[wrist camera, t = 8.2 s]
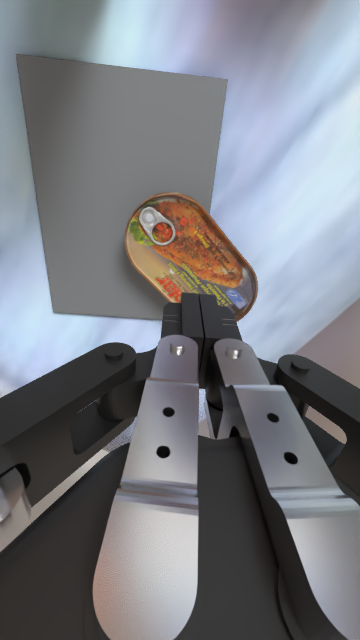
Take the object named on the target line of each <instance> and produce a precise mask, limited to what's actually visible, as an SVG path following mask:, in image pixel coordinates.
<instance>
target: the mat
mask: <svg viewBox="0 0 360 640" xmlns="http://www.w3.org/2000/svg"><path fill="white" fill-rule="evenodd" d="M16 59H17V66H18V73H19V79H20V86H21V93H22V100H23V107H24V114H25V121H26V128H27V134H28V141H29V148H30V155H31V162H32V169H33V176H34V183H35V189H36V196H37V203H38V210H39V217H40V224H41V231H42V238H43V244H44V251H45V258H46V265H47V272H48V279H49V286H50V293H51V299H52V306H53V312H61V313H76V314H90V315H104V316H118V317H133V318H147V319H161V320H163V309H164V307H165V306H166V305H167V304H168V303H169V301H168V300H167V299H166V298H165V297H164V296H163V295H162V294H161V293H159V292H158V291H157V290H156V289H155V288H154V287H153V286H152V285H151V284H150V283H149V282H148V281H147V280H146V279H145V278H144V277H143V276H142V275H141V274H140V273H139V272H138V271H137V270H136V269H135V268H134V267H133V265H132V264H131V262H130V260H129V258H128V256H127V253H126V249H125V242H124V236H125V229H126V225H127V222H128V220H129V218H130V216H131V215H132V213H133V212H134V210H135V209H136V208H137V207H138V206H139V205H140V204H141V203H142V202H144V201H145V200H146V199H148V198H150V197H151V196H153V195H156V194H159V193H163V192H178V193H182V194H185V195H187V196H190V197H191V198H193V199H195V200H196V201H197V202H198V203H199V204H200V205H201V206H203V208H204V209H205V210H206V211H207V212H208V213H209V214H210V207H211V199H212V192H213V184H214V177H215V170H216V162H217V155H218V147H219V140H220V133H221V125H222V118H223V111H224V103H225V96H226V88H227V81H228V79H221V78H212V77H204V76H196V75H187V74H179V73H171V72H162V71H154V70H146V69H137V68H129V67H121V66H112V65H104V64H96V63H87V62H79V61H71V60H62V59H54V58H46V57H37V56H29V55H21V54H16Z"/></svg>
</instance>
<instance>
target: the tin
mask: <svg viewBox="0 0 360 640" xmlns="http://www.w3.org/2000/svg"><path fill="white" fill-rule="evenodd" d="M124 242H125V249H126V253H127V256H128V258H129V260H130V262H131V264H132V265H133V267H134V268H135V269H136V270H137V271H138V272H139V273H140V274H141V275H142V276H143V277H144V278H145V279H146V280H147V281H148V282H149V283H150V284H151V285H152V286H153V287H154V288H155V289H156V290H157V291H158V292H159V293H161V294H162V295H163V296H164V297H165V298H166V299H167V300H168V301H169V302H174V303H180V299H181V292H186V293H198V294H199V293H200V294H213V295H216V299H217V303H218V306H227V307H228V308H229V309H230V310H231V311H232V312H233V314H234V317H235V320H236V322H237V321H239V320H240V319H242V318H243V317H244V316H245V315H246V314H247V313H248V312H249V311H250V309H251V308H252V306H253V305H254V303H255V300H256V297H257V293H258V281H257V277H256V274H255V272H254V270H253V268H252V267H251V266H250V265H249V263H248V262H247V261H246V260H245V259H244V257H243V256H242V255H241V254H240V252H239V251H238V250H237V249H236V248H235V246H234V245H233V244H232V243H231V241H230V240H229V239H228V238H227V236H226V235H225V234H224V232H223V231H222V230H221V229H220V227H219V226H218V225H217V224H216V222H215V221H214V220H213V219H212V217H211V216H210V215H209V213H208V212H207V211H206V210H205V209H204V208H203V206H201V205H200V204H199V203H198V202H197V201H196V200H195V199H193V198H191V197H190V196H187V195H185V194H182V193H178V192H163V193H159V194H156V195H153V196H151V197H150V198H148V199H146V200H145V201H144V202H142V203H141V204H140V205H139V206H138V207H137V208H136V209H135V210H134V212H133V213H132V215H131V216H130V218H129V220H128V222H127V225H126V229H125V236H124Z"/></svg>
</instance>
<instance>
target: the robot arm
mask: <svg viewBox="0 0 360 640" xmlns="http://www.w3.org/2000/svg"><path fill="white" fill-rule="evenodd" d="M199 389H205V392H206V395H205V400H204V408H205V414H206V419H207V423H208V428H209V433H210V438H207V437H204V436H200V435H198V414H199ZM95 400H96V401H95ZM94 401H95V402H94ZM92 402H93V403H92ZM91 403H92V404H91ZM89 404H90V405H89ZM88 405H89V406H88ZM86 406H87V407H86ZM309 406H311V407H312V408H314V409H315V410H317V411H318V412H319V413H321V414H322V415H324V416H325V417H326V418H328V419H329V420H331V421H332V422H334V423H335V424H336V425H338V426H339V427H340V428H341V429H343V431H344V432H345V434H346V437H347V442H346V444H343V443H341V442H339V441H338V440H337V439H335V438H334V437H333V436H331V435H330V434H328V433H327V432H326V431H325V430H323V429H322V428H320V427H319V426H318V425H316V424H315V423H314V422H312V421H311V420H309V419H308V418H307V417H305V414H306V412H307V410H308V407H309ZM85 407H86V408H85ZM82 409H83V410H82ZM79 411H80V412H79ZM136 416H137V419H136V423H135V427H134V431H133V435H132V439H131V442H130V443H127V444H125V445H122V446H120V447H118V448H117V449H115V450H113V451H111V452H110V453H109V454H107V455H106V456H104V457H103V458H102V459H101V460H100V461H99V462H98V463H96V464H95V465H94V466H93V467H92V468H91V469H90V470H89V471H88V472H87V473H86V474H85V475H84V476H82V477H81V478H80V479H79V480H78V481H77V482H76V483H75V484H74V485H73V486H71V487H70V488H69V489H68V490H67V491H66V492H65V493H64V494H63V495H62V496H61V497H60V498H58V500H56V501H55V502H54V503H53V504H52V505H51V506H50V507H49V508H48V509H46V510H45V511H44V512H43V513H42V514H41V515H40V516H39V517H38V518H37V519H36V520H35V521H33V523H31V524H30V525H29V526H28V527H27V525H28V523H29V520H30V516H31V508H32V507H33V506H34V505H35V504H36V503H38V502H39V501H40V500H41V499H42V498H43V497H45V496H46V495H47V494H48V493H49V492H51V491H52V490H53V489H54V488H56V486H58V485H59V484H60V483H61V482H63V481H64V480H65V479H66V478H67V477H69V476H70V475H71V474H72V473H73V472H75V471H76V470H77V469H78V468H79V467H81V466H82V465H83V464H84V463H85V462H86V461H88V460H89V459H90V458H91V457H93V456H94V455H95V454H96V453H97V452H99V451H100V450H101V449H102V448H103V447H105V446H106V445H107V444H108V443H109V442H111V441H112V440H113V439H114V438H115V437H117V436H118V435H119V434H120V433H121V432H123V431H124V430H125V429H126V428H127V427H129V426H130V425H131V424H132V422H133V421H134V419H135V417H136ZM26 527H27V528H26ZM0 640H360V389H359V388H357V387H356V386H354V385H352V384H350V383H349V382H347V381H345V380H344V379H342V378H340V377H339V376H337V375H335V374H333V373H331V372H330V371H328V370H327V369H325V368H323V367H321V366H320V365H318V364H316V363H315V362H313V361H311V360H309V359H307V358H305V357H302V356H298V355H284V356H282V357H281V358H280V359H279V361H278V364H276V363H272V362H269V361H265V360H262V359H259V358H257V357H256V355H255V353H254V351H253V349H252V348H251V347H250V346H249V345H248V344H247V343H245V342H243V341H242V338H241V335H240V332H239V329H238V326H237V323H236V320H235V317H234V314H233V312H232V311H231V310H230V309H229V308H228V307H227V306H218V303H217V299H216V295H213V294H200V293H199V294H198V293H186V292H181V299H180V303H174V302H169V303H168V304H167V305H166V306H165V307H164V309H163V320H162V331H161V340H160V341H159V342H158V346H157V347H156V348H154V349H153V350H150V351H147V352H143V353H137V354H136V352H135V350H134V349H133V348H132V347H131V346H129V345H127V344H124V343H117V342H115V343H107V344H104V345H101V346H99V347H97V348H95V349H93V350H91V351H89V352H88V353H86V354H84V355H82V356H80V357H78V358H76V359H74V360H72V361H70V362H68V363H67V364H65V365H63V366H61V367H59V368H57V369H55V370H53V371H51V372H49V373H47V374H45V375H44V376H42V377H40V378H38V379H36V380H34V381H32V382H30V383H28V384H26V385H24V386H22V387H21V388H19V389H17V390H15V391H13V392H11V393H9V394H7V395H5V396H3V397H1V398H0Z"/></svg>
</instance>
